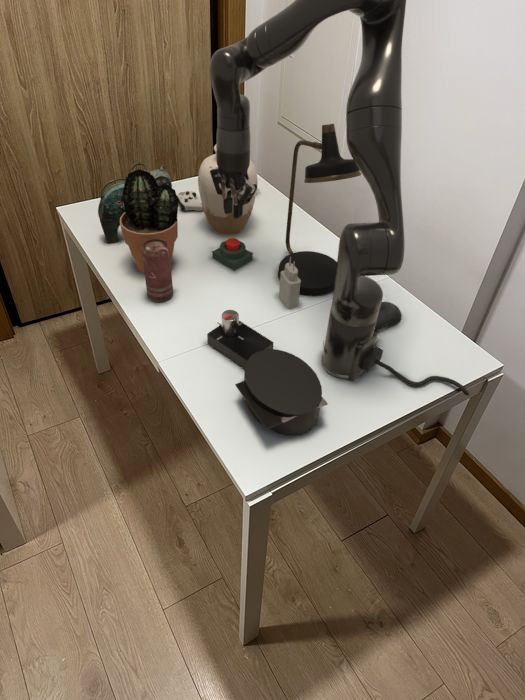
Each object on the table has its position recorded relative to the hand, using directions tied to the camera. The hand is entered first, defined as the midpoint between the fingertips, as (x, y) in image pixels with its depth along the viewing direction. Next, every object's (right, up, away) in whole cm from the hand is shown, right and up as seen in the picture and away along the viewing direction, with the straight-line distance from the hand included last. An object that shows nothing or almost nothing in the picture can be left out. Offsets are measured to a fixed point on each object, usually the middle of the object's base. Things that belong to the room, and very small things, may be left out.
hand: (232, 214), depth 131 cm
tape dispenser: (+10, -44, -25) cm, 52 cm away
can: (-17, -20, -3) cm, 27 cm away
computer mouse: (+34, -27, -7) cm, 44 cm away
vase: (-3, +2, +21) cm, 21 cm away
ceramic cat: (-26, -2, +16) cm, 30 cm away
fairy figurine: (0, +15, +35) cm, 38 cm away
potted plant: (-21, -11, +6) cm, 24 cm away
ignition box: (-1, -9, +9) cm, 13 cm away
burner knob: (0, -29, -16) cm, 33 cm away
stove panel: (+2, -33, -15) cm, 36 cm away
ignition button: (0, -7, +7) cm, 9 cm away
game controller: (-15, +10, +28) cm, 33 cm away
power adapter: (+13, -22, -2) cm, 25 cm away
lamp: (+18, -14, +6) cm, 24 cm away
